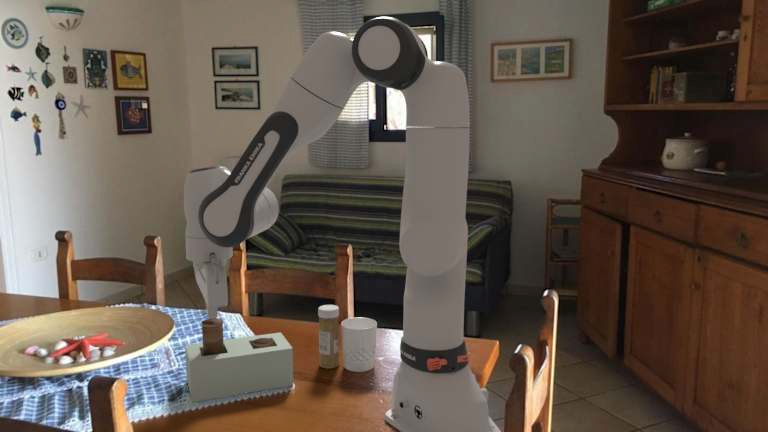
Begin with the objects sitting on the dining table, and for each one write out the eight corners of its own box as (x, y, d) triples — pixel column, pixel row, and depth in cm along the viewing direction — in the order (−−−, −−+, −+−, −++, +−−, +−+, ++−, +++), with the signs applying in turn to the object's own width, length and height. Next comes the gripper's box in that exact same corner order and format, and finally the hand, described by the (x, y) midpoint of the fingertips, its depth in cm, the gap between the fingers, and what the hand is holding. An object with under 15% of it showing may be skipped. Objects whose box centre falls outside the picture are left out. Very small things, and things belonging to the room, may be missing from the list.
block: (293, 385, 125) (292, 348, 124) (192, 402, 117) (190, 363, 116) (281, 367, 134) (280, 332, 133) (186, 381, 126) (185, 345, 125)
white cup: (343, 374, 130) (343, 330, 129) (339, 360, 138) (338, 318, 136) (379, 372, 132) (380, 327, 130) (373, 358, 139) (373, 316, 138)
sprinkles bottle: (343, 366, 134) (342, 308, 132) (324, 371, 132) (324, 311, 130) (333, 359, 138) (332, 302, 136) (315, 363, 136) (314, 306, 134)
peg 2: (275, 375, 126) (274, 343, 125) (255, 378, 125) (254, 346, 123) (271, 368, 130) (270, 336, 129) (251, 370, 128) (251, 339, 127)
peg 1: (225, 357, 121) (224, 323, 120) (204, 360, 120) (202, 326, 119) (222, 349, 125) (221, 317, 124) (201, 352, 123) (200, 319, 122)
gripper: (234, 258, 111) (237, 331, 113) (218, 238, 129) (220, 300, 131) (198, 261, 108) (201, 335, 110) (187, 240, 127) (190, 303, 129)
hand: (211, 316), depth 121 cm, fingers closed
